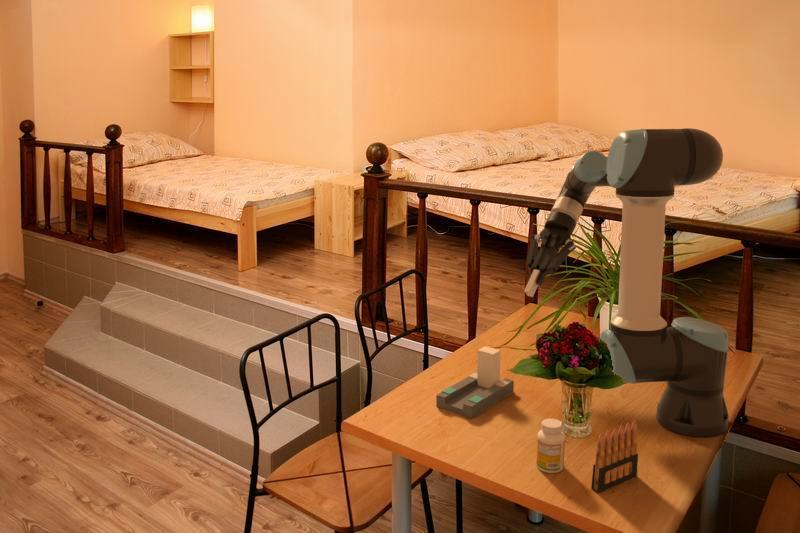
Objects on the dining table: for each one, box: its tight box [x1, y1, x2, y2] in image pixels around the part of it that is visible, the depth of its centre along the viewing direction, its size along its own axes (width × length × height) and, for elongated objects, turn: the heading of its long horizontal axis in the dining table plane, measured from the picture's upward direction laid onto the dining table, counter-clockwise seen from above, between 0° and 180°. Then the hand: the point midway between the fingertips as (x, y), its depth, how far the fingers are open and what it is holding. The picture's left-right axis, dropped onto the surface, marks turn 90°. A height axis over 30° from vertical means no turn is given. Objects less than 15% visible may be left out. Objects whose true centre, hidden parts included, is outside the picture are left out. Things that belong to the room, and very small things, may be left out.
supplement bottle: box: [536, 418, 566, 474], centre depth 153 cm, size 5×5×10 cm
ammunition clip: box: [590, 420, 639, 494], centre depth 147 cm, size 11×2×12 cm, turn 122°
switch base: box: [435, 371, 515, 419], centre depth 184 cm, size 18×10×3 cm, turn 140°
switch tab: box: [477, 345, 502, 388], centre depth 187 cm, size 3×4×9 cm
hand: (528, 293), depth 196 cm, fingers closed
